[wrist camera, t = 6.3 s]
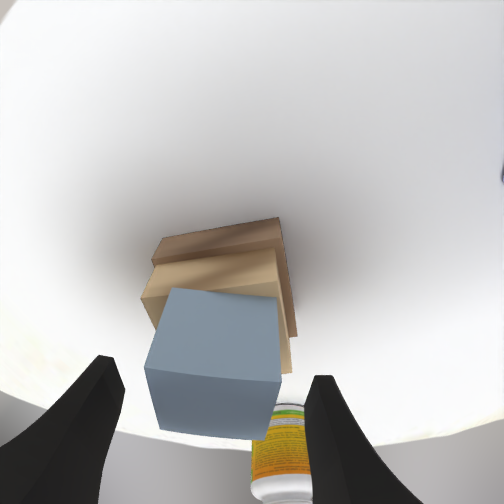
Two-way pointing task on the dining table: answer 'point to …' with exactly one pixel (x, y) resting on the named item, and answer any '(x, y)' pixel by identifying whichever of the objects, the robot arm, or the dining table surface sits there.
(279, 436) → the supplement bottle
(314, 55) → the dining table surface
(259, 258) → the oak slab
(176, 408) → the slate blue cube
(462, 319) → the dining table surface
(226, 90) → the dining table surface
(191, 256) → the walnut slab
